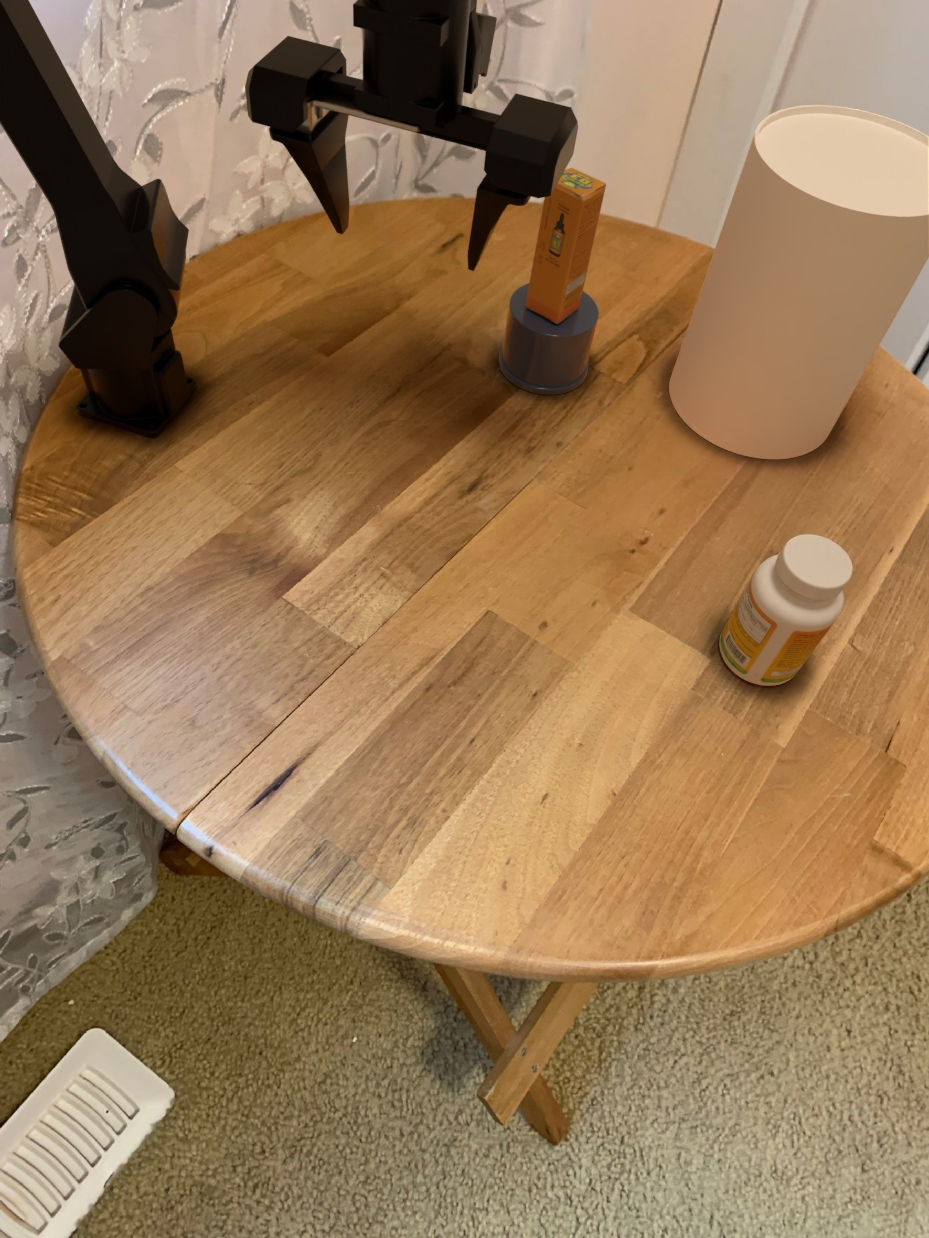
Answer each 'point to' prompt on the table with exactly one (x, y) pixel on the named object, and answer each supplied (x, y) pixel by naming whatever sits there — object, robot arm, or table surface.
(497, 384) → the table surface
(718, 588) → the table surface
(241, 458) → the table surface
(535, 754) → the table surface
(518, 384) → the cup
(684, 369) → the canister
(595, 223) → the supplement box
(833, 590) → the supplement bottle
